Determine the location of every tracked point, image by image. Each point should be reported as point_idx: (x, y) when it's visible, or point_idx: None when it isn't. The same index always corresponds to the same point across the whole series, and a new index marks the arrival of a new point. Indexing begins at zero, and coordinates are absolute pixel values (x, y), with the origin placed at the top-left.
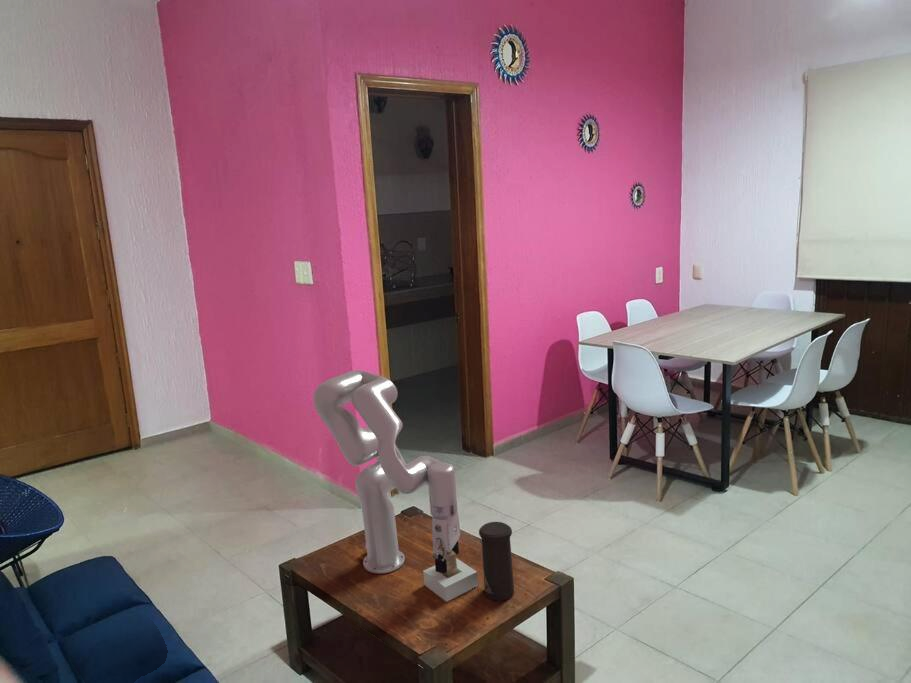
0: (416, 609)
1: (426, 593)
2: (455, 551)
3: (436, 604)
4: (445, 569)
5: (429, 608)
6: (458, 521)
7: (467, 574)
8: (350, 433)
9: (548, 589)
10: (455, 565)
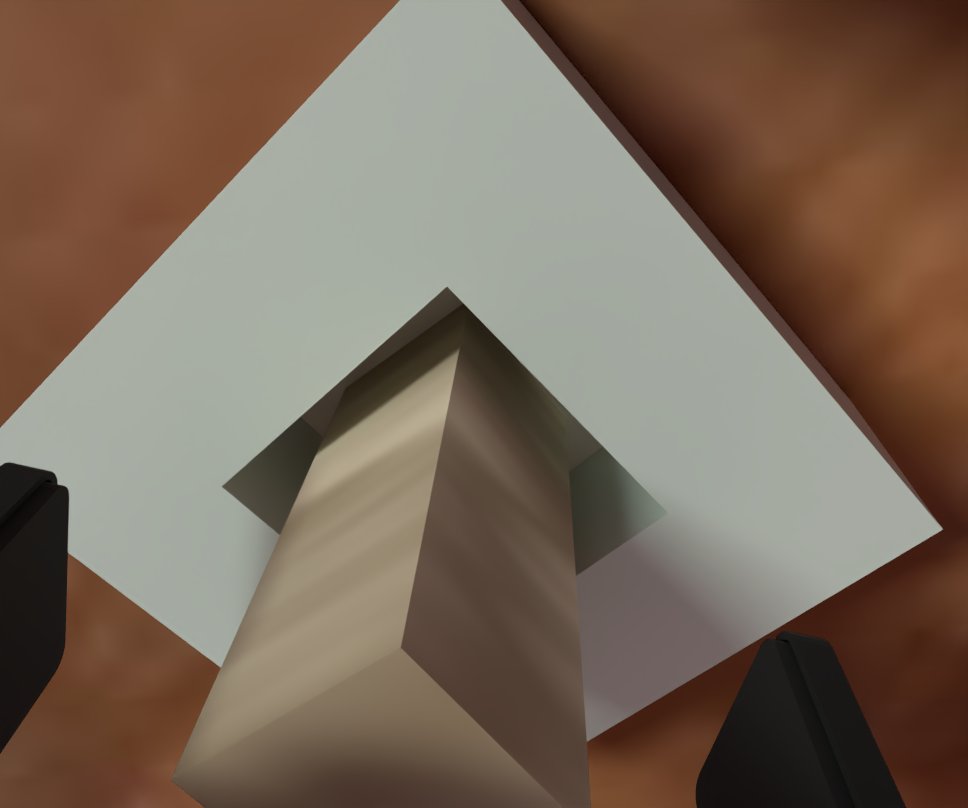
0: (929, 694)
1: None
2: (35, 559)
3: None
4: (840, 703)
5: (944, 576)
6: None
7: (562, 166)
8: None
9: None
10: (456, 468)
